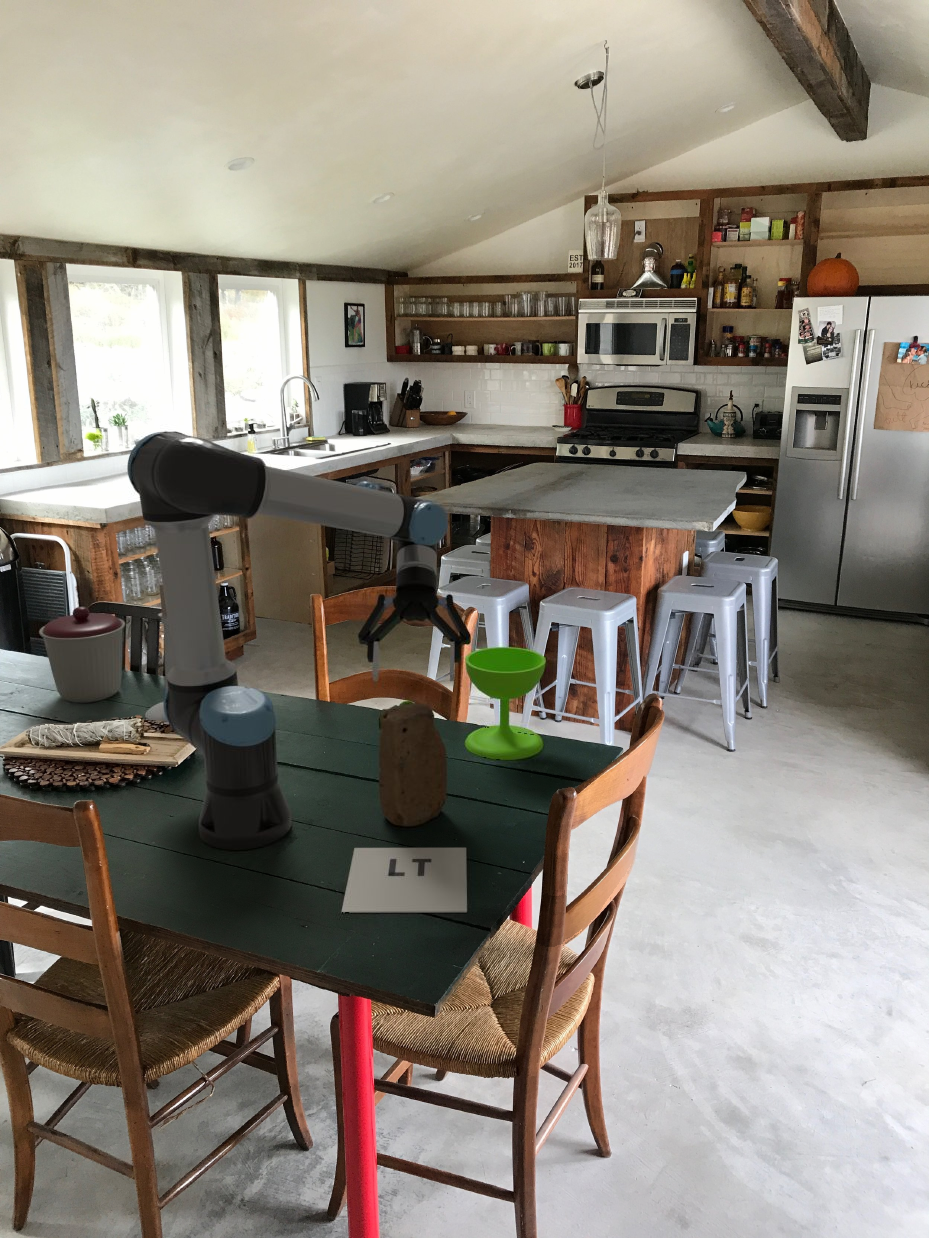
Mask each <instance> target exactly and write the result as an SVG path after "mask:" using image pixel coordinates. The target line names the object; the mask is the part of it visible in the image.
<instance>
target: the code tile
mask: <svg viewBox="0 0 929 1238" xmlns="http://www.w3.org/2000/svg"><path fill="white" fill-rule="evenodd" d="M349 869H350V870H349V873H348V879H347V883H346V888H345V893H344V898H343V903H342V908H341V913H342V912H343V913H342V914H346V913H345V912H349V913H348V914H351V913H352V914H354V913H355V914H360V913H361V914H364V913H365V914H366V913H367V914H373V913H375V914H376V913H379V914H383V913H384V914H385V913H386V914H387V913H389V914H390V913H392V914H396V913H398V914H400V913H403V914H405V913H406V914H407V913H408V914H412V913H421V914H422V913H423V914H424V913H433V914H434V913H435V914H436V913H441V914H442V913H444V914H446V913H451V914H452V913H468V897H467V895H468V894H467V892H468V890H467V889H468V887H467V886H468V883H467V847H354V850H353V855H352V858H351V863H350V868H349Z"/></svg>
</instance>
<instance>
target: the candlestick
mask: <svg viewBox="0 0 929 1238" xmlns="http://www.w3.org/2000/svg"><path fill="white" fill-rule="evenodd" d="M158 586H159V595H160V607H161V609H160V610H161V612H160V613H158V614H157V616H158V617H159V618H160V623H161V624H162V625H163V631H162V632H163V647H164V650H163V652H164V674H165V675H164V676H165V678H164V679H165V680H164V681H165V691H166V690H167V689H168V682H167V674H168V673H169V671H170V670H171V669H172V668H173V667H174V659H173V652H172V645H171V638H170V632H169V625H168V618H167V611H166V604H165V597H164V591H163V584H162V582H160V583H159V585H158ZM163 703H164V701H162V702H159V703H157V704H155V705H153V706H152V707H150V708H148V710H147V711H146V712H145V714H144V718H145V717H146V718H148V719H150V720H159V721H167V722H168V720H167V718H166V716H165V712H164V705H163Z"/></svg>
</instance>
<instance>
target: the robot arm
mask: <svg viewBox="0 0 929 1238" xmlns="http://www.w3.org/2000/svg"><path fill="white" fill-rule="evenodd" d="M127 459H128V460H127V476H128V479H129V482H130V484H131V485H132V487H133V489H134V491H135V492H136V493H137V494H138V495H139V501H140V507H141V513H142V520H143V522H144V523H146V524H147V525H148V526H150V527H151V528H153V530H154V535H155V543H156V549H157V555H158V563H159V569H160V575H161V583H162V584H163V591H164V597H165V604H166V611H167V618H168V625H169V632H170V638H171V645H172V652H173V659H174V667H173V668H172V669H171V670H170V671H169V673H168V674H167V682H168V689H167V690H166V689H165V692H164V697H163V702H164V703H163V705H164V712H165V716H166V718H167V720H168V722H169V724H170V726H169V727H171V728H172V729H173V731H174V732H175V733H176V734H177V735H178V736H179V737H181V738H183V739H184V740H185V741H187V742H188V744H190V745H191V746H192V747H194V748H195V750H197V752H199V753H200V754H201V755H202V756H203V759H204V771H205V783H206V784H205V785H206V792H205V795H204V799H203V803H202V805H201V811H200V814H199V816H198V817H199V818H198V830H199V831H198V832H199V837H200V839H201V840H202V842H204V844H207V845H209V846H210V847H213V848H216V849H222V850H228V851H244V850H253V849H256V848H257V849H258V848H260V847H261V848H262V847H264V846H267V845H271V844H273V843H275V842H277V841H279V840H281V838H283V837H285V836H286V835H287V834H288V832H290V829H291V827H292V816H291V808H290V805H289V803H288V801H287V799H286V796H285V794H284V792H283V789H282V787H281V785H280V783H279V773H278V772H279V771H278V770H279V768H278V753H277V752H278V751H277V749H278V748H277V733H276V732H277V731H276V725H277V724H276V723H277V719H276V718H277V717H276V714H275V710H274V704H273V701H272V700H271V698H270V697H269V695H268V694H266V693H265V692H263V691H262V690H260V689H257V688H255V687H250V688H248V687H247V686H245V685H239V680H238V674H237V666H236V665H235V664H234V662H232V661H230V660H228V659H227V657H226V651H225V643H224V635H223V628H222V620H221V619H222V618H221V614H220V613H221V611H220V603H219V596H218V589H217V588H218V587H217V581H216V579H217V578H216V573H215V566H214V558H213V550H212V543H211V542H212V540H211V533H210V527H209V524H210V522H211V521H212V520H213V519H214V517H215V516H216V515H218V516H228V517H235V518H236V517H237V518H243V519H253V518H255V516H258V515H263V516H270V517H274V518H281V519H284V520H285V519H286V520H292V521H297V522H302V523H308V524H313V525H320V526H324V527H329V528H336V529H342V530H347V531H354V532H359V533H363V534H371V535H376V536H381V537H385V538H387V539H389V540H391V541H393V542H395V543H396V546H397V547H396V549H397V550H396V552H397V553H396V578H395V579H396V580H395V593H394V596H393V597H388V596H385V594H383V593H380V594H379V595H378V596H377V597H378V598H377V601H376V605H375V607H374V608H373V610H372V612H371V613H370V614H369V616H368V618H367V620H366V621H365V623H364V624H363V626H362V627H361V629H360V631H359V632H358V634H357V637H358V643H359V644H360V645H365V646H367V650H366V651H367V652H366V658H367V661H368V663H372V673H371V675H372V681H373V682H378V681H379V662H380V660H379V659H380V644H379V643H380V642H381V641H382V640H383V639H384V638H385V637H386V636H387V635H388V634H389V633H390V632H391V631H392V630H393V629H394V628H395V627H396V626H397V625H399V624H400V623H402V621H404V620H405V621H407V622H413V621H417V622H424V621H425V620H428V621H429V622H430V623H431V624H432V625H434V626H435V628H436V629H438V631H439V632H440V633H442V635H443V636H444V637H445V638H446V639H447V641H449V642H450V643H449V682H455V663H456V664H457V663H461V661H462V658H461V657H462V646H464V645H466V646H469V645H470V644H471V643H472V636H471V635H472V634H471V633H470V631H469V629H468V627H467V626H466V624H465V622H464V620H463V618H462V617H461V615H460V614H459V611H458V609H457V608H456V605H454V604H455V603H454V597H453V595H452V594H450V593H449V594H447V595H446V596H444V597H438V596H437V571H438V570H437V569H438V568H437V567H438V565H437V562H438V561H437V559H438V553H437V552H438V543H439V542H441V540H442V539H444V537H445V535H446V533H447V531H448V526H449V518H448V514H447V512H446V510H445V509H444V508H443V506H441V505H439V504H437V503H435V502H433V501H431V500H427V499H420V498H418V497H411V496H407V495H404V494H398V493H395V492H392V491H388V490H385V489H384V488H381V487H380V485H377V484H373V482H371V481H368V480H367V481H366V480H364V481H360V482H359V483H357V484H350V483H346V482H342V481H338V480H333V479H332V480H331V479H329V478H328V479H327V478H324V477H319V476H313V475H309V474H305V473H299V472H296V471H291V470H286V469H282V468H276V467H272V466H268V465H266V463H265V462H264V460H263V459H262V458H260V457H257V456H252V455H249V454H245V453H241V452H238V451H236V450H232V449H230V448H227V447H225V446H222V445H221V444H217V443H215V442H213V441H210V440H208V439H205V438H202V437H199V436H198V437H197V436H194V435H193V436H192V435H189V434H188V435H187V434H185V433H182V432H180V431H176V430H175V431H166V430H165V431H158V432H153V433H151V434H147V435H146V436H145V437H143V438H142V439H140V440H139V441H138V442H137V443H136V444H135V446H134V447H133V448H132V450H130V454H129V456H128V458H127ZM390 606H393V607H394V609H393V611H392V612H391V614H390V615H389V616H388V617H386V619H385V620H384V621H383V622H382V623H381V624H380V625H378V624H379V621H380V620H381V619H382V617H383V616H384V613H385V610H388V609H389V608H390ZM439 606H441V607H442V609H443V610H446V611H447V614H448V616H449V617H450V620H451V622H452V624H453V625H454V627H455V629H456V631H457V632H458V633H457V632H456V631H455V630H454V629H453V628H452V627H451V626H450V624H449V623H447V621H446V620H444V618H443V617H442V616H441V615H440V614H439V613H438V611H437V608H438V607H439ZM377 625H378V627H377V628H376V626H377ZM375 628H376V629H375Z"/></svg>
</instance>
